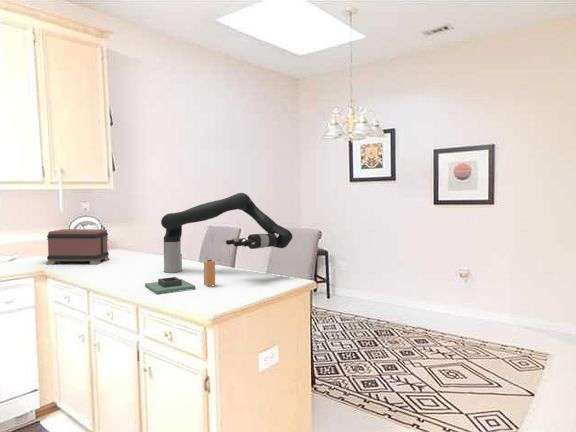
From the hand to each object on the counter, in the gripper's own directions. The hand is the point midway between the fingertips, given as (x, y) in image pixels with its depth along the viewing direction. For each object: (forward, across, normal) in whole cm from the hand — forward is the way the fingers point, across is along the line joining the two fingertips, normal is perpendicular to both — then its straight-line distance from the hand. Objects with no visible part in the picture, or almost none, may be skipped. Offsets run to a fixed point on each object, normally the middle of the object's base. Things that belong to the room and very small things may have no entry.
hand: (230, 243), depth 200 cm
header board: (+29, -6, +20) cm, 35 cm away
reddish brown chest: (+54, -108, +19) cm, 122 cm away
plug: (+11, 0, +20) cm, 23 cm away
